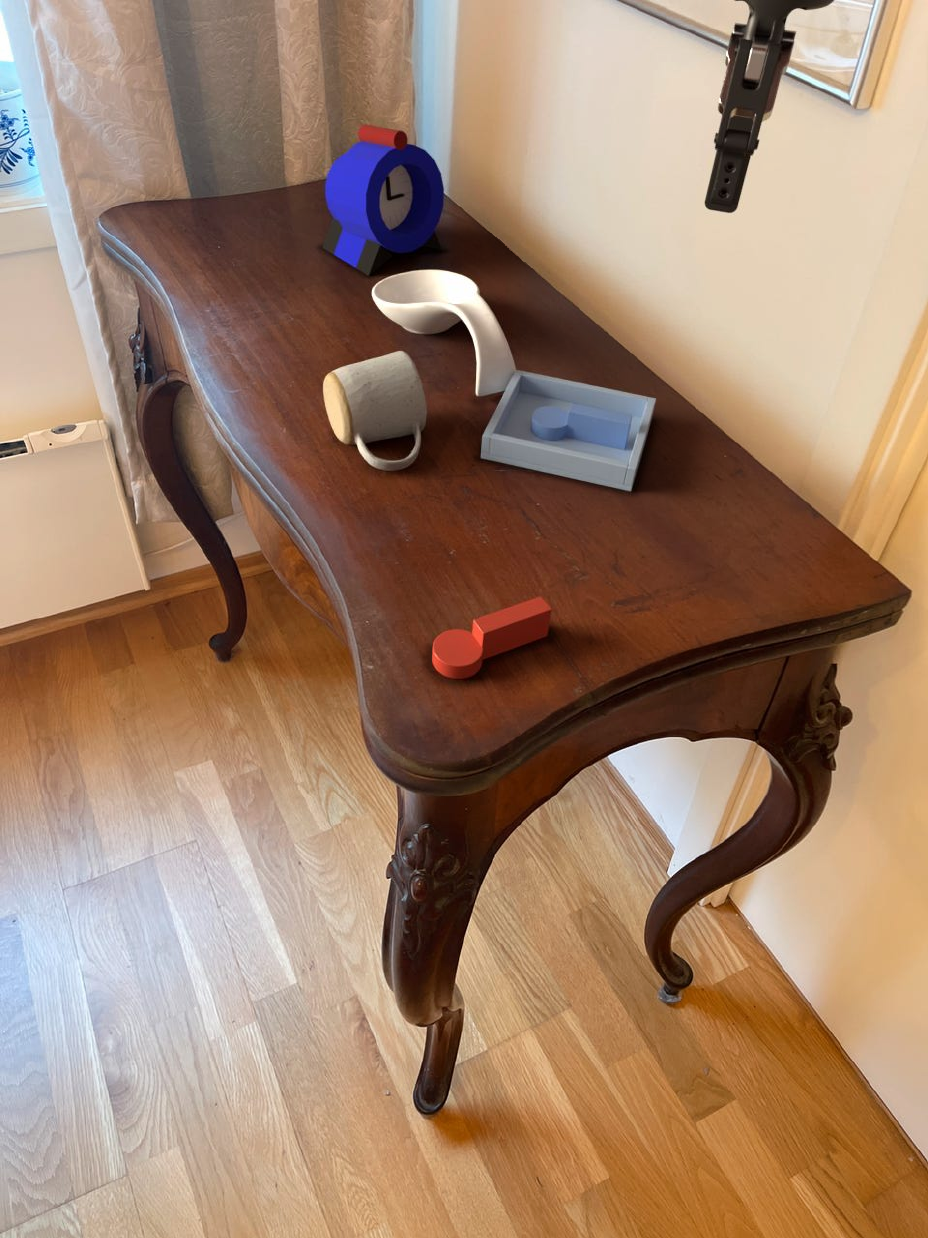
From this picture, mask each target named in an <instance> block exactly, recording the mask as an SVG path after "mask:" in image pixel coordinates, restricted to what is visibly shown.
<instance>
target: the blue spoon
mask: <svg viewBox="0 0 928 1238" xmlns="http://www.w3.org/2000/svg"><path fill="white" fill-rule="evenodd" d="M632 417H633V416H632V415H627V414H622V413H618V412H613V411H608V410H603V409H598V408H594V407H589V406H584V405H579V404H574V403H572V404H571V406H570V409H569V411H568V412H567V411H565V410H564V409H561V408H558V407H554V406H545V407H540V408H538V409H536V410H535V411H534V412H533V415H532V423H531V430H532V432H533V434H534V435H536V436H537V437H539V438H541V439H544V440H549V441H556V440H561V439H564V438H565V437H566V438H570V439H575V440H579V441H584V442H589V443H593V444H598V445H603V446H607V447H612V448H617V449H621V450H625V447H626V444H627V440H628V436H629V431H630V426H631V422H632Z"/></svg>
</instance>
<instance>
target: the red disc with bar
mask: <svg viewBox="0 0 928 1238" xmlns="http://www.w3.org/2000/svg"><path fill="white" fill-rule="evenodd" d="M552 610H553V609H552V608H551V606H550V605H549V604H548V603H547V602H546V600H545V599H544V598H543V597H542V596H537V597H535V598H532V599H529V600H526V601H524V602H520V603H518V604H515V605H512V606H509V607H506V608H504V609H500V610H498V611H495V612H492V613H489V614H486V615H483V616H480V617H478V618H475V619H473V621H472V629H471V631H469V630H467V629H461V628H454V629H448V630H445V631H443V632H441V633H439V635H438V636H436V638H434V641H433V644H432V652H431V653H432V656H431V657H432V658H431V661H432V662H431V663H432V665H433V667H434V669H435V670H436V671H437V672H438V673H439V674H440V675H441V676H443V677H446V678H449V679H453V680H464V679H469V678H471V677H473V676H474V675H476V674H477V673H478V672H479V671H480V669H481V667H482V665H483V660H487V659H488V658H491V657H494V656H497V655H499V654H502V653H506V652H508V651H510V650H513V649H515V648H519V647H521V646H524V645H527V644H530V643H532V642H535V641H538V640H540V639H543V638H546V637H548V634H549V628H550V622H551V617H552V616H551V615H552Z"/></svg>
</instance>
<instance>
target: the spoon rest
mask: <svg viewBox="0 0 928 1238" xmlns="http://www.w3.org/2000/svg"><path fill="white" fill-rule="evenodd" d="M480 291H481V290H480V288H479V286H478V285H477V282H474V280H472V279H471V278H470V277H467V276H466V275H463V274H461V273H458V272H453V271H449V270H443V269H418V270H410V271H405V272H401V273H396V274H393V275H391V276H387V277H385V278H384V279H381V280H380V281H378V282H377V283H375V285H374V286H373V287H372V290H371V296H372V300H373V301H374V303H375V305H376V306H377V308H378V309H379V310H380V312H381V313H382V314H383V315H385V317H386V318H388V319H389V320H391V321H392V322H394V323H395V324H397V325H398V326H401V327H402V328H403V329H404V330H406V331H408V332H410V333H413V334H416V335H417V334H418V335H435V334H440V333H442V332H446V331H448V330H449V329H450V328H452V327H453V326H455V325H456V324H458V323H459V322H460V321H462V322H463V323H464V324H465V326H466V328H467V329H468V331H469V333H470V335H471V338H472V341H473V344H474V350H475V358H476V377H475V378H476V379H475V395H476V396H477V397H484V396H489V395H492V394H497V393H502V392H505V390H506V388H507V386H508V384H509V382H510V380H511V379H512V377H513V375H514V373H515V371H516V370H517V369H516V368H517V367H516V364H515V360H514V357H513V353H512V351H511V348H510V346H509V345H510V344H509V343H508V341H507V338H506V336H505V333H504V331H503V329H502V327H501V325H500V323H499V321H498V318H497V317H496V316H495V314H494V311H492V309H491V307H490V305H489V304H488V303H487V302H486V301H485V299H484V298H483V297H482V296H481V295H480V294H481V293H480Z"/></svg>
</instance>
